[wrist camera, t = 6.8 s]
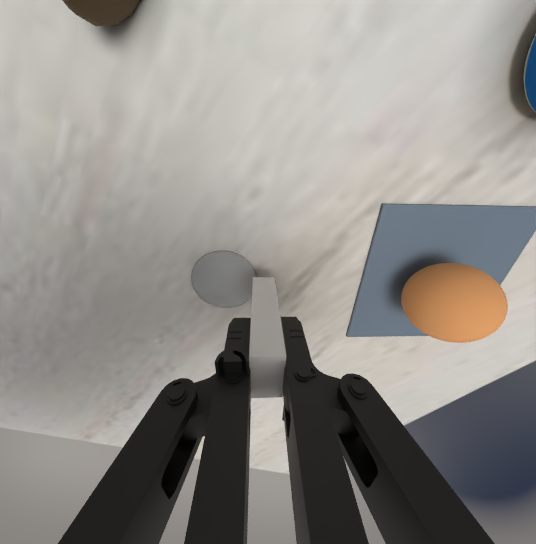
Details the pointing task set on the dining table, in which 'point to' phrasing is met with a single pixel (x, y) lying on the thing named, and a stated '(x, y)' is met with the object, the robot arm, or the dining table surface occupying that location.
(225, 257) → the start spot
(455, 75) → the dining table surface
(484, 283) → the ball
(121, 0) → the kendama
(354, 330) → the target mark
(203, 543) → the robot arm
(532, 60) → the beverage can
